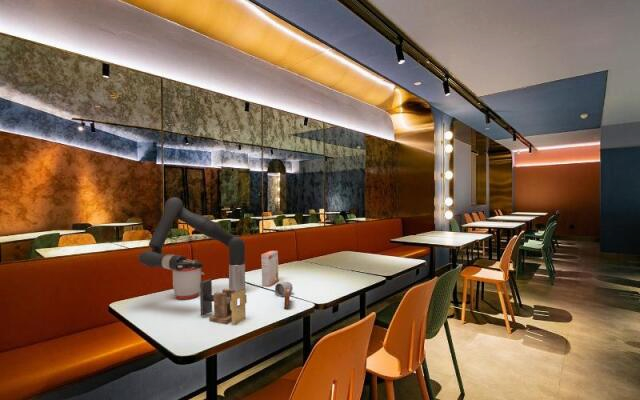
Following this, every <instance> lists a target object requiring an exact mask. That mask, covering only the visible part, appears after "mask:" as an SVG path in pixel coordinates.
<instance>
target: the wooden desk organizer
mask: <svg viewBox="0 0 640 400" xmlns="http://www.w3.org/2000/svg"><path fill="white" fill-rule="evenodd" d="M212 284H213V282H212V279H205V280H203V281H202V280H201V282H200V291H199V294H200V295H199V296H200V298H199V300H200V307H199V308H200V316H201V317H204V316H206V315H208V314H210V313H212V312H213V303H214V294H213V291H212V290H213V288H212V287H213V285H212ZM231 300H232V298H231V297H227V304H230V301H231Z"/></svg>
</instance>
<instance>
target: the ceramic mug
mask: <svg viewBox="0 0 640 400" xmlns="http://www.w3.org/2000/svg"><path fill="white" fill-rule="evenodd" d="M285 288H290V294H291V293H293V289H294V287H293V285H292V283H291V282H289V281H282V282H278V283H277V284H276V285H275V286H274V294H276V296H277V297H280V298H281V297H285Z"/></svg>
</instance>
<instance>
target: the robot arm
mask: <svg viewBox="0 0 640 400" xmlns="http://www.w3.org/2000/svg"><path fill="white" fill-rule="evenodd" d="M175 219H177V220H179V221H181V222H183V223H185V224H186V225H188V226H189V227H191V228H192V229H194V230H195V231H197V232H199V233H200V234H202V235H203V236H206V237H208V238H210V239H212V240H216V241H218V242H220V243H221V244H223V245H224V246H226V247H227V248H228V269H229V270H228V273H229V274H228V275H229V276H228V289H232V290H235V292H236V291H238V290H240V289H245V290H246V244H245V241H244V240H243V238H242V237H239V236H237V235H235V234H232V233H231V232H228V231H227V230H226V229H224V228H223V227H222V226H221V225H219V224H218V223H216V222H214V221H213V220H211V219H209V218H208V217H206V216H204V215H201V214H198V213H194V212H192V211H190V210H188V209H187V208H185V206H184V204H183V201H182V200H181V199H180V198H179V197H176V196H174V197H170V198H168V199H167V200H166V201H165V203H164V210H163V213H162V216H161V218H160V219H159V220H160V221H159V222H158V224H157V227H156V228H155V231H154V232H153V234H152V236H151V237H150V240H149V243H148V247H149V248H150V249H151V250H144V251H142V252H141V253H140V254H139V255H138V258H137V259H138V262H139V264H141V265H143V266H146V267H148V268H151V269H152V268H156V267H158V268H160V269H167V270H171V271H173V270H177V271H181V270H183V269H191V268H201V269H203V268H204V264H203V263H202V262H200V261H199V260H198V259H196V258H195V259H193V260H192V259H188V258H187V259H186V257H185V256H183V255H179V254H178V255H177V254H166V253H163V247H164V245H165V243H166V240H167V238H168V236H169V234H170V231H171V227H172V225H173V223H174V221H175Z"/></svg>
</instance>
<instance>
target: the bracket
mask: <svg viewBox="0 0 640 400" xmlns="http://www.w3.org/2000/svg"><path fill="white" fill-rule="evenodd" d="M221 291H222V292H219V291H216V292H214V293H213V295H214V302H213V314H212V315H210V316H209V317H208V320H209V322H211V323H216V324H222V325H228V324H230V323H232V310H230V304H227V297H231V293H234V292H235V290H232V289H229V288H224V289H222V290H221Z"/></svg>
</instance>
